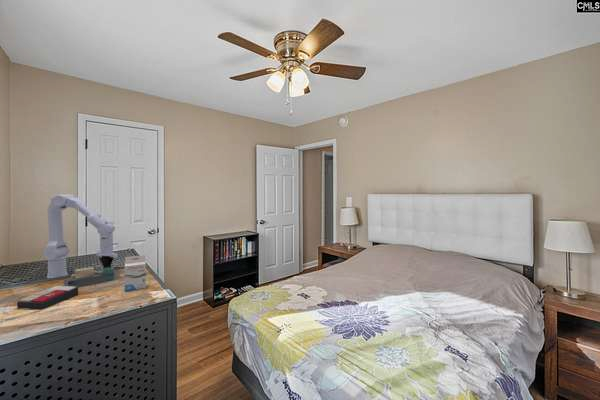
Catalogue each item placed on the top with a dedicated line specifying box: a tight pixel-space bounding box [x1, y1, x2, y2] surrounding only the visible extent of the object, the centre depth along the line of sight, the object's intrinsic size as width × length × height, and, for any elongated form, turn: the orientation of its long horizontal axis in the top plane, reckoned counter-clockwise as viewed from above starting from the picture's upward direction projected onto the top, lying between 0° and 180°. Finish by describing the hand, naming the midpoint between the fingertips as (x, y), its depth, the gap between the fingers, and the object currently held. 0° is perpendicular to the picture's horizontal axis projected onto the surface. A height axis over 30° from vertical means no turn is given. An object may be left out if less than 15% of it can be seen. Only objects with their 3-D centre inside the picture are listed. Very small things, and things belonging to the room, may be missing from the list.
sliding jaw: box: [71, 265, 115, 279], centre depth 138 cm, size 3×18×4 cm, turn 134°
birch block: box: [74, 266, 95, 278], centre depth 132 cm, size 4×7×6 cm, turn 134°
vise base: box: [63, 270, 123, 288], centre depth 134 cm, size 19×22×4 cm
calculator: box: [16, 285, 79, 311], centre depth 108 cm, size 11×4×15 cm
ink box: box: [124, 254, 147, 292], centre depth 123 cm, size 8×5×15 cm, turn 123°
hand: (107, 269), depth 145 cm, fingers closed
